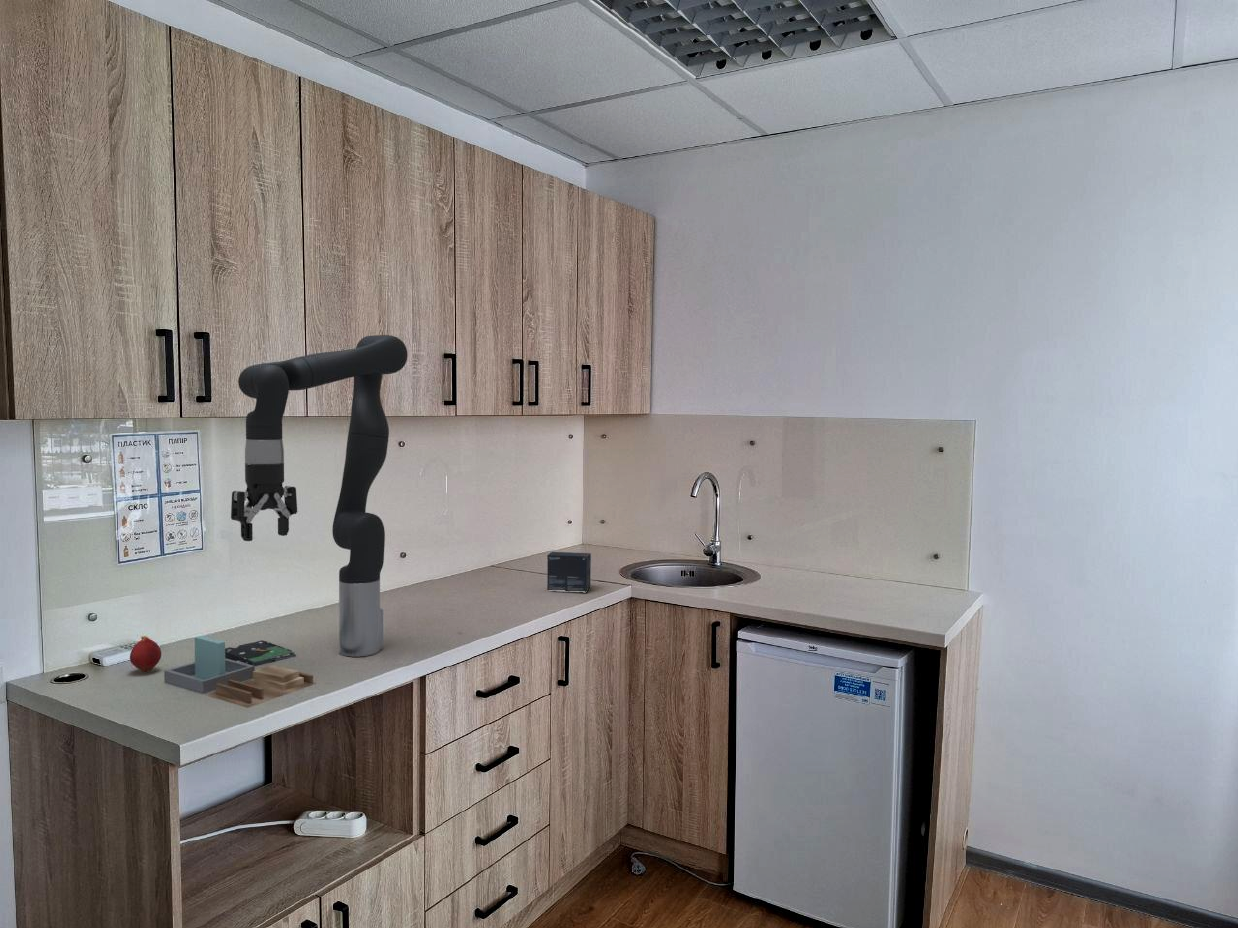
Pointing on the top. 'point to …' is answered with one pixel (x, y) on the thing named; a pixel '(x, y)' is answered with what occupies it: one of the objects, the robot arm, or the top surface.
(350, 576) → the robot arm
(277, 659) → the disk drive
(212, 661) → the teal rectangular slab
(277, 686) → the offcut lower
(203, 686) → the tray
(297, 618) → the top surface
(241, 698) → the rack
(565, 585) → the small box
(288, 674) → the offcut upper
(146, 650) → the onion
